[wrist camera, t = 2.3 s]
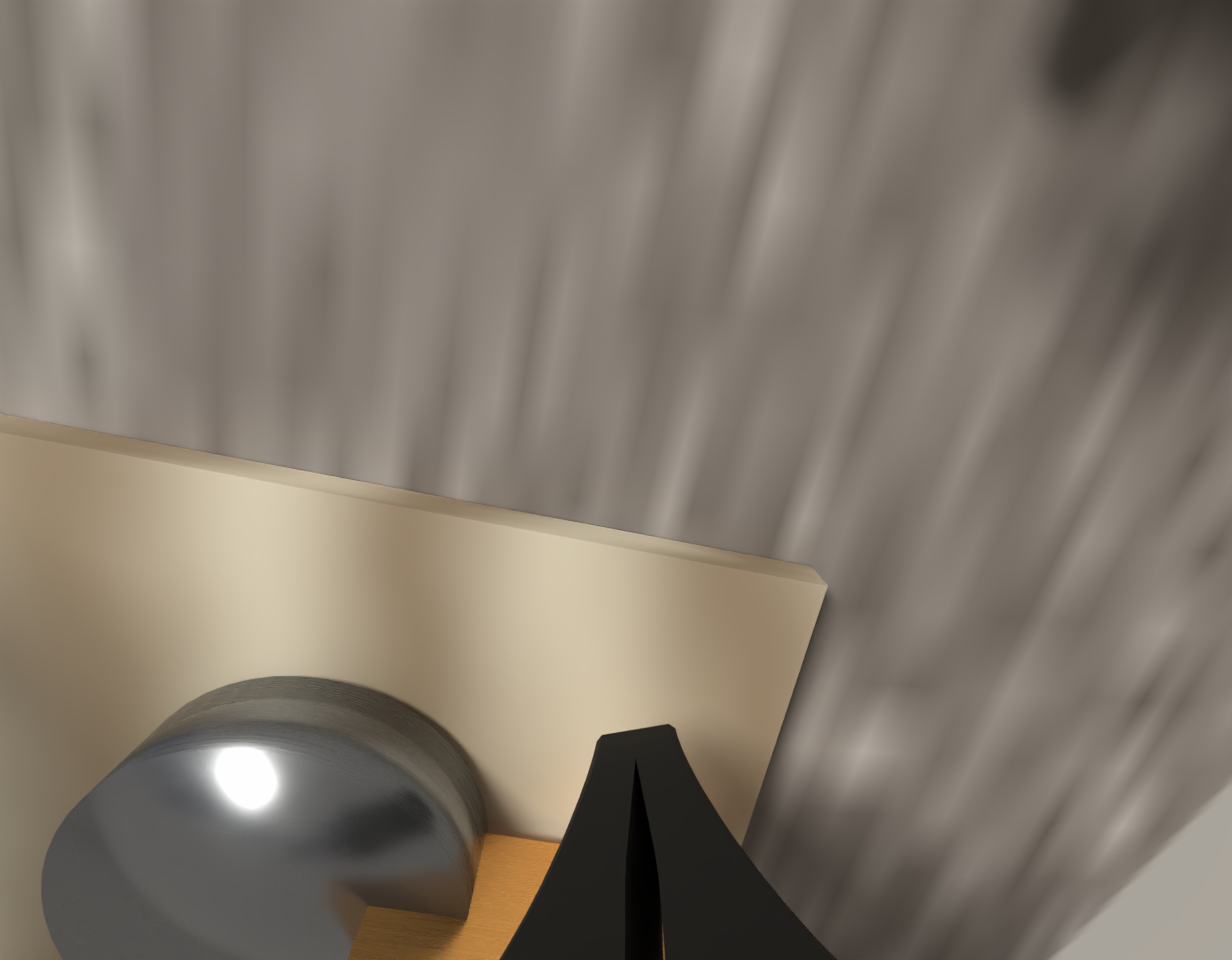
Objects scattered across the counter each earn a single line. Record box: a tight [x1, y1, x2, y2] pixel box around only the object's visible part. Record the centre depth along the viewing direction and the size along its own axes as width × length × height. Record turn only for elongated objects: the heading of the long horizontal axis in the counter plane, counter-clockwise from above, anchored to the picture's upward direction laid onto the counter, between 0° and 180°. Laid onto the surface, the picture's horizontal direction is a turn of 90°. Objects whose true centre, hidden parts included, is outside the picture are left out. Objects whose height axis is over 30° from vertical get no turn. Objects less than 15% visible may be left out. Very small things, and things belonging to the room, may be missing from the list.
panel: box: [0, 414, 828, 960], centre depth 15 cm, size 18×18×1 cm
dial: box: [41, 676, 665, 960], centre depth 12 cm, size 13×8×5 cm, turn 78°
